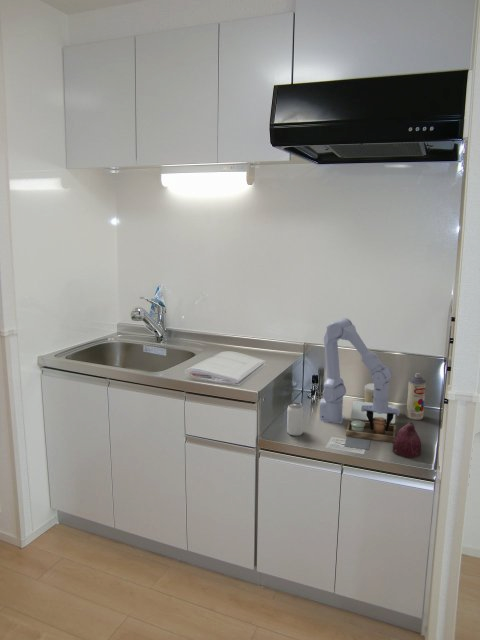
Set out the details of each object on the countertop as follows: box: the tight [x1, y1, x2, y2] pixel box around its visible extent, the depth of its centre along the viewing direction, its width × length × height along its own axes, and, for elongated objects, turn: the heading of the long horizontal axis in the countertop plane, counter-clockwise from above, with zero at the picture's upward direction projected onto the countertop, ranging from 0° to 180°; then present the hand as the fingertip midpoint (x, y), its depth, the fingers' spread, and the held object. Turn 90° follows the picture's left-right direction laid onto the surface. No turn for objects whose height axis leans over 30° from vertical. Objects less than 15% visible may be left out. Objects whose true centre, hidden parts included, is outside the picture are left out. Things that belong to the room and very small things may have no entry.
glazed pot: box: [351, 420, 365, 432], centre depth 199 cm, size 5×5×4 cm
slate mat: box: [344, 436, 371, 451], centre depth 191 cm, size 9×8×1 cm
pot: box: [373, 417, 386, 435], centre depth 199 cm, size 5×5×6 cm
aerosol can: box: [406, 372, 427, 421], centre depth 212 cm, size 7×7×20 cm
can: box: [286, 401, 305, 437], centre depth 200 cm, size 6×6×12 cm
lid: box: [350, 400, 397, 425], centre depth 208 cm, size 18×10×1 cm, turn 71°
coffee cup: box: [364, 382, 374, 403], centre depth 219 cm, size 9×9×12 cm
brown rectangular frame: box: [345, 419, 397, 443], centre depth 203 cm, size 19×20×5 cm
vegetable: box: [392, 421, 422, 459], centre depth 182 cm, size 10×10×15 cm
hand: (379, 429), depth 200 cm, fingers closed on pot, 5 cm apart
